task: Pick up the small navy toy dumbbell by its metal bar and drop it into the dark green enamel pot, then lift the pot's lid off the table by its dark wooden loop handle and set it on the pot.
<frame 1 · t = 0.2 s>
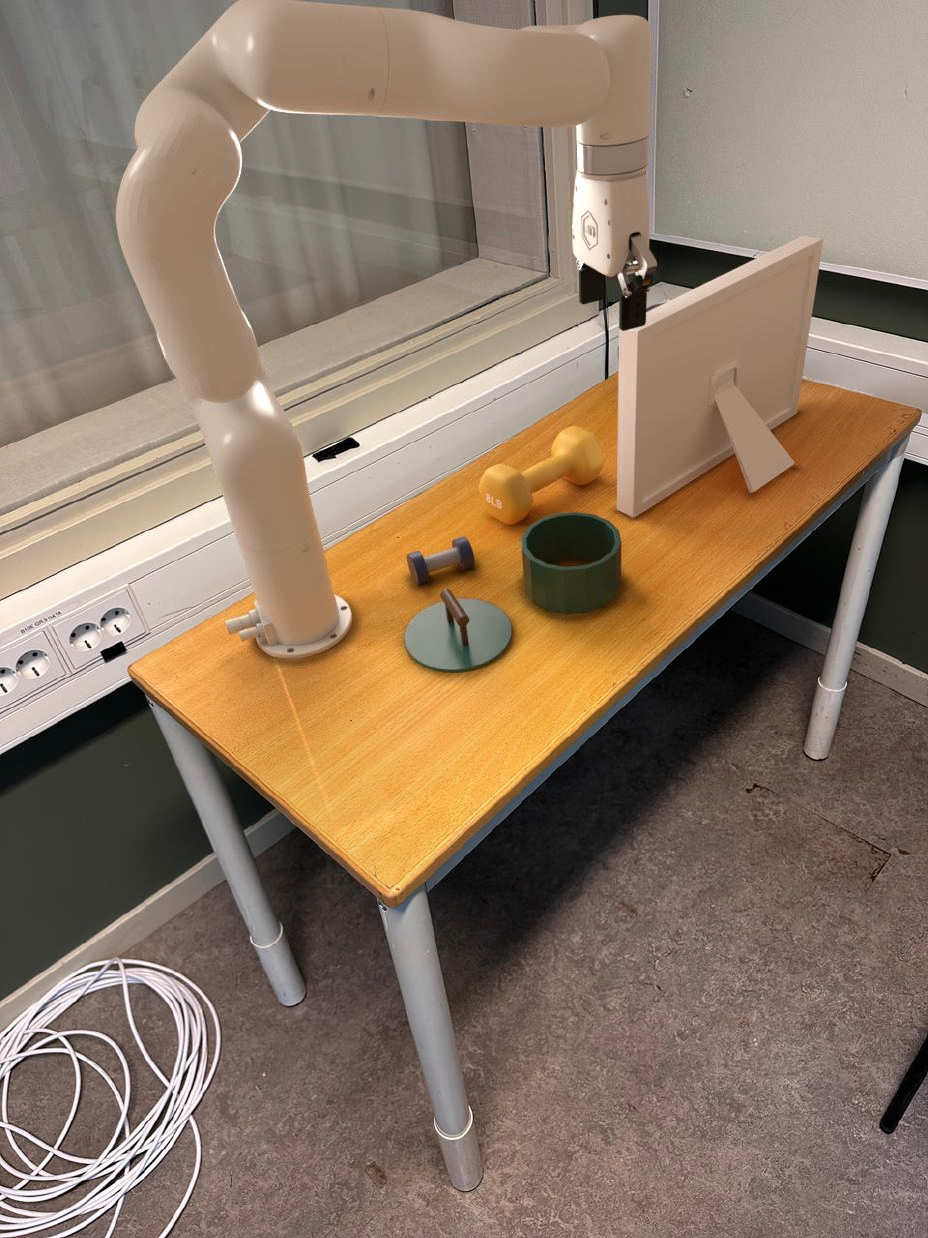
hand: (611, 313, 106), 31 cm above the table, tool pointing down, fingers open, 9 cm apart
dumbbell: (543, 499, 133), on the table
picture frame: (737, 470, 134), on the table
toy dumbbell: (442, 573, 121), on the table
lid: (458, 635, 110), point 1 cm above the table
pot: (571, 586, 116), on the table
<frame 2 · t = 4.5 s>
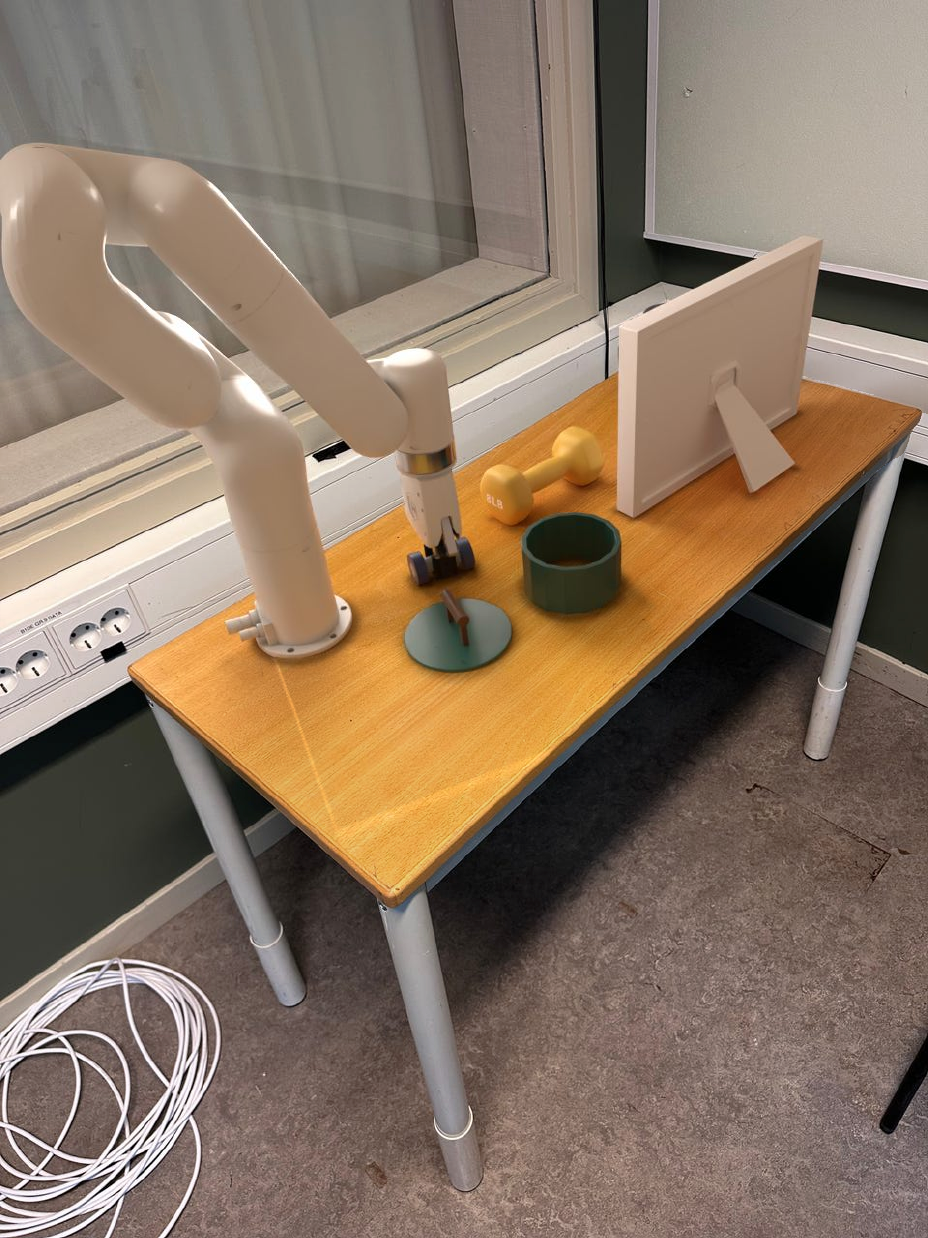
hand: (442, 570, 121), 1 cm above the table, tool pointing down, fingers closed on toy dumbbell, 2 cm apart
toy dumbbell: (442, 573, 121), on the table, touching gripper
everything else where it was.
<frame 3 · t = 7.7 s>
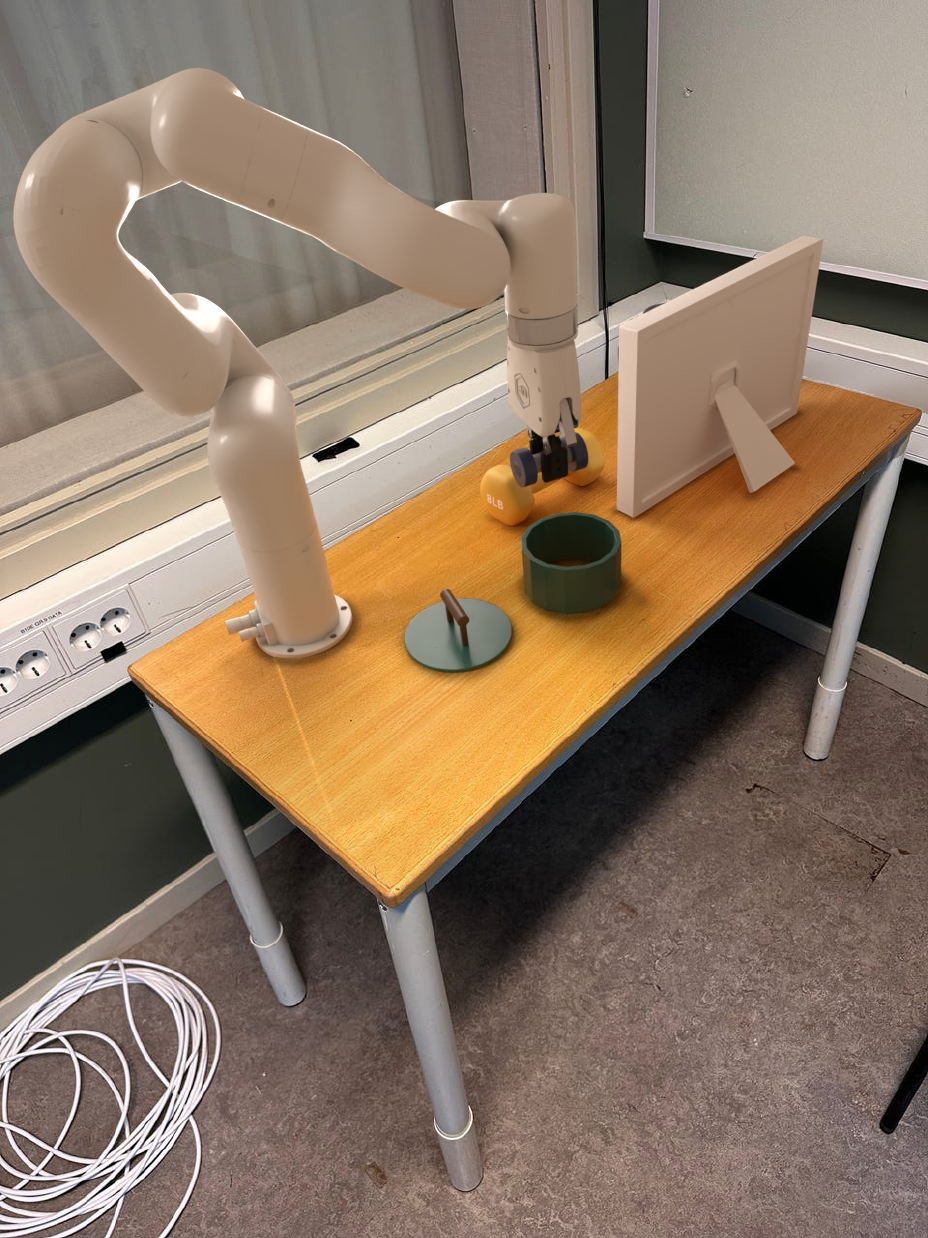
hand: (549, 471, 106), 17 cm above the table, tool pointing down, fingers closed on toy dumbbell
toy dumbbell: (549, 475, 106), point 17 cm above the table, touching gripper
everything else where it was.
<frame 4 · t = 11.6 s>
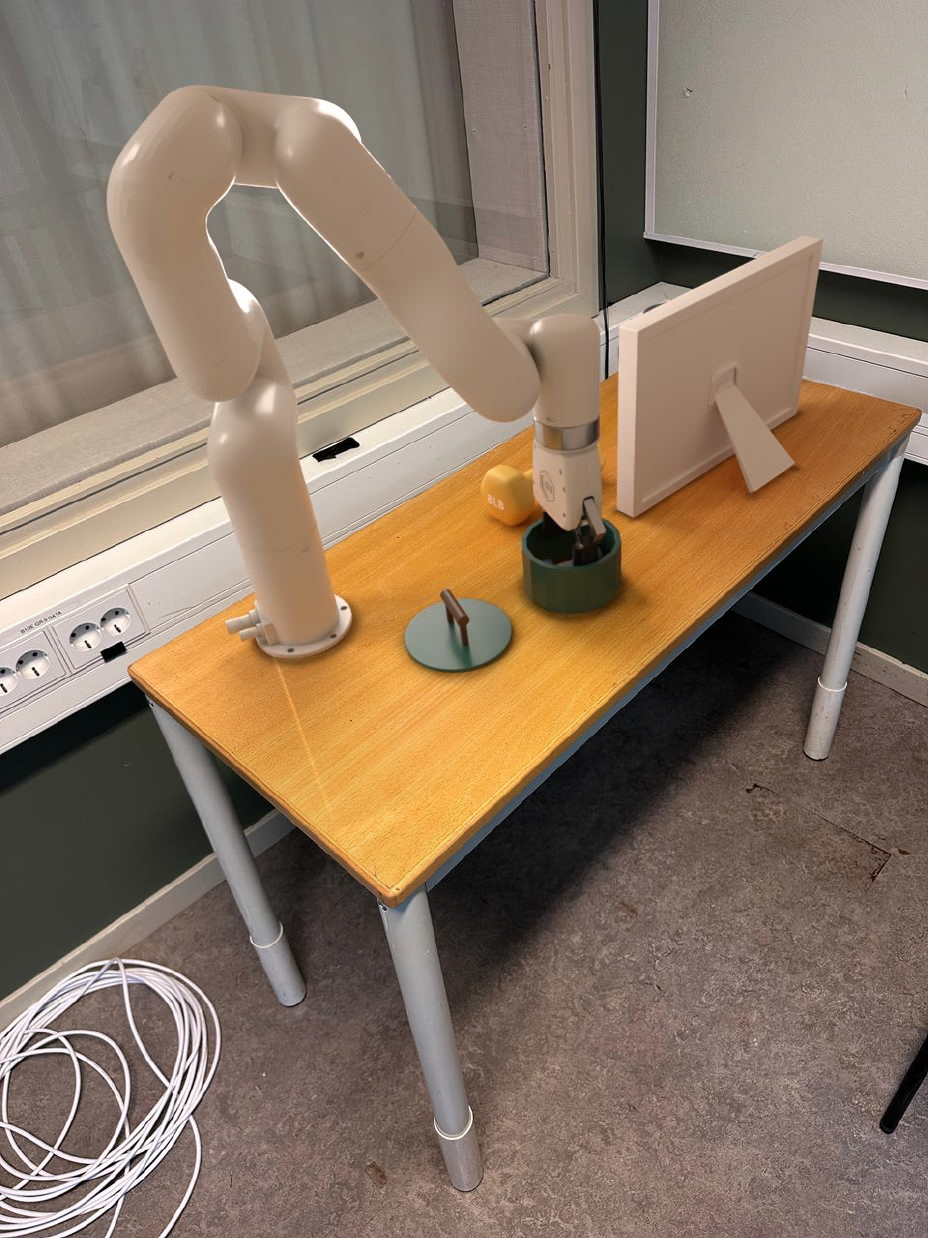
hand: (569, 551, 113), 6 cm above the table, tool pointing down, fingers closed on pot, 7 cm apart
toy dumbbell: (571, 583, 116), point 1 cm above the table, tilted 9°, touching pot
everything else where it was.
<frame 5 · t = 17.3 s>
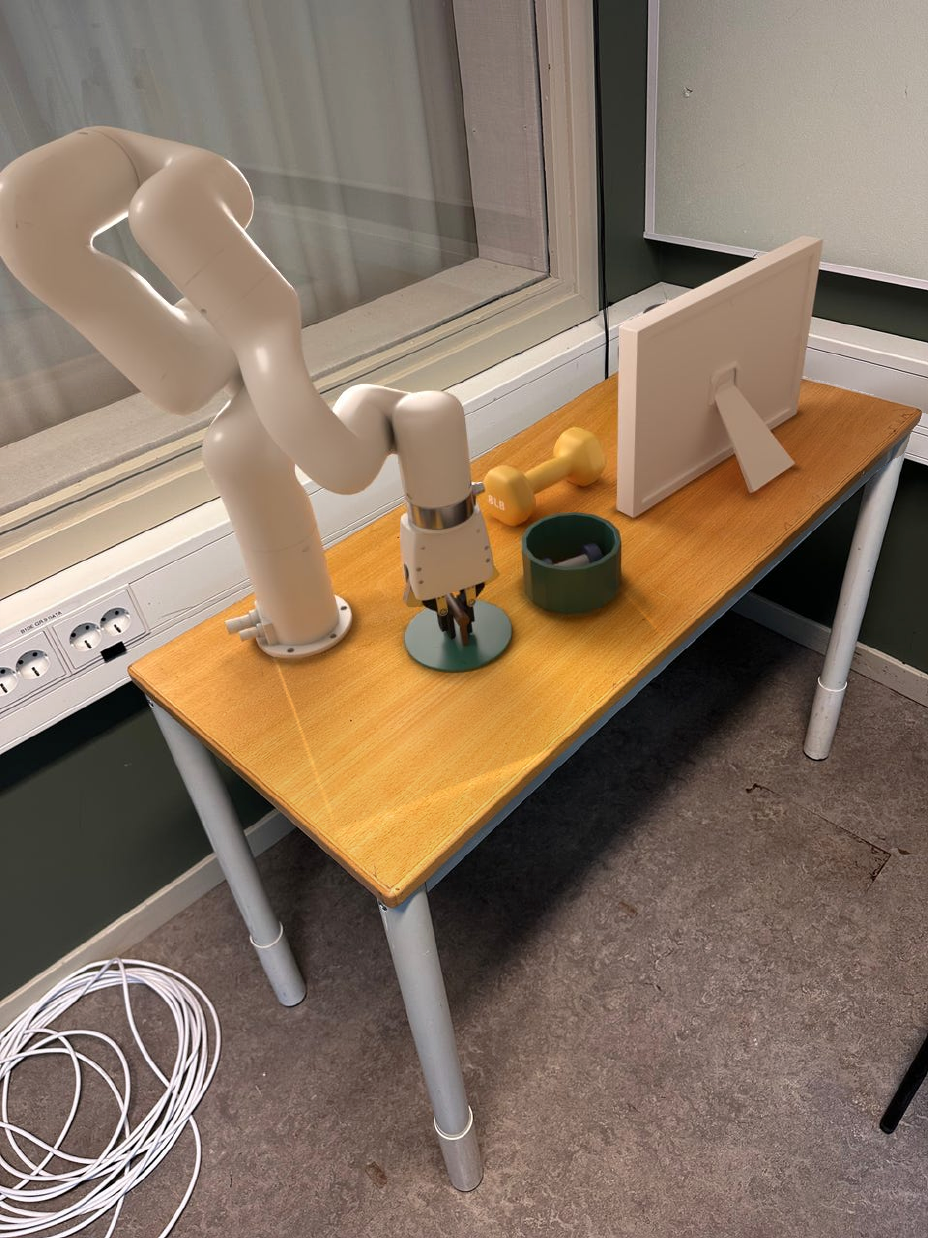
hand: (457, 629, 110), 2 cm above the table, tool pointing down, fingers closed on lid
lid: (458, 635, 110), point 1 cm above the table, touching gripper
everything else where it was.
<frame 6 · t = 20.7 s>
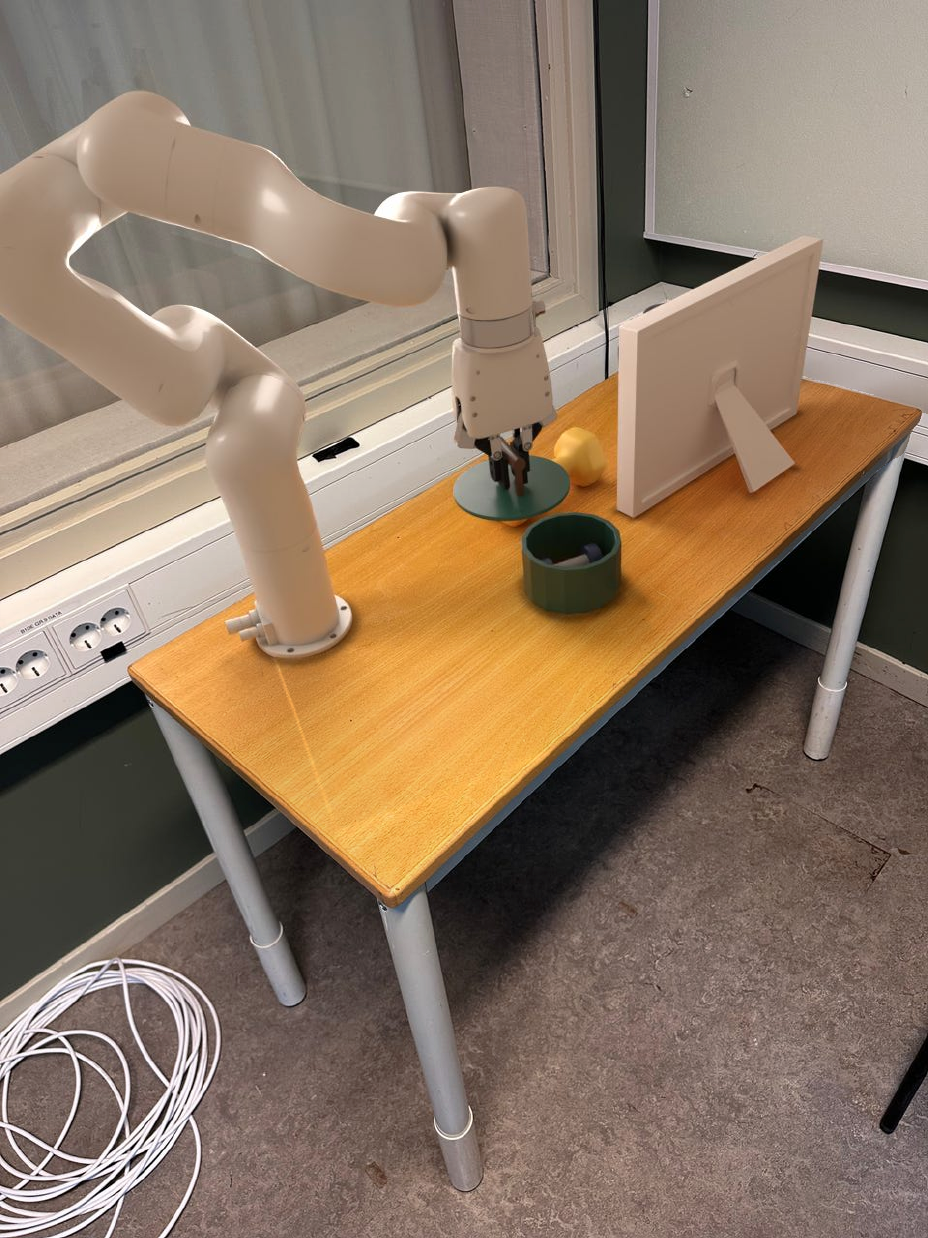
hand: (510, 480, 101), 19 cm above the table, tool pointing down, fingers closed on lid
lid: (511, 488, 102), point 18 cm above the table, touching gripper
everything else where it was.
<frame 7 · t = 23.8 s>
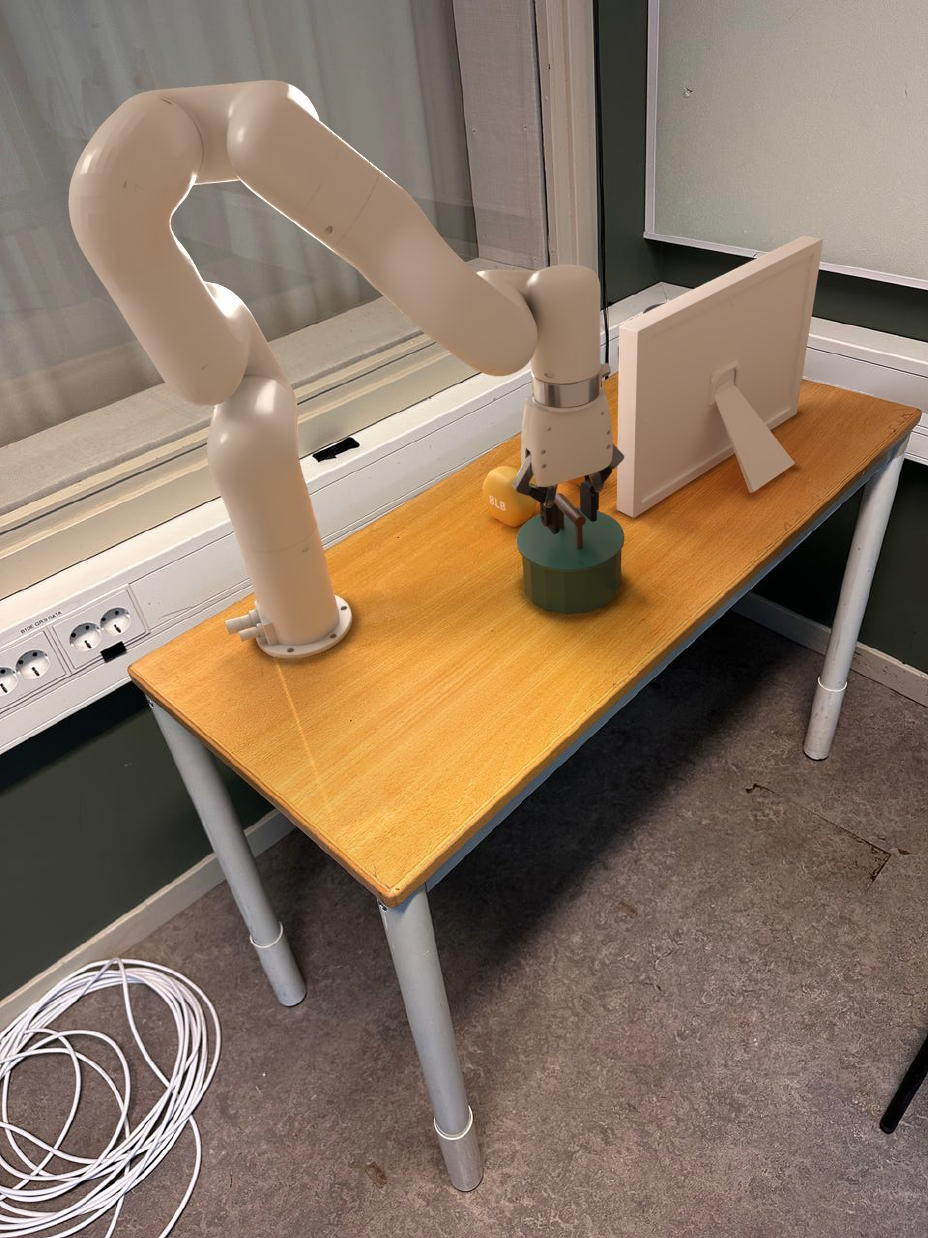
hand: (570, 520, 110), 10 cm above the table, tool pointing down, fingers open, 4 cm apart
lid: (570, 539, 112), point 7 cm above the table, touching pot
everything else where it was.
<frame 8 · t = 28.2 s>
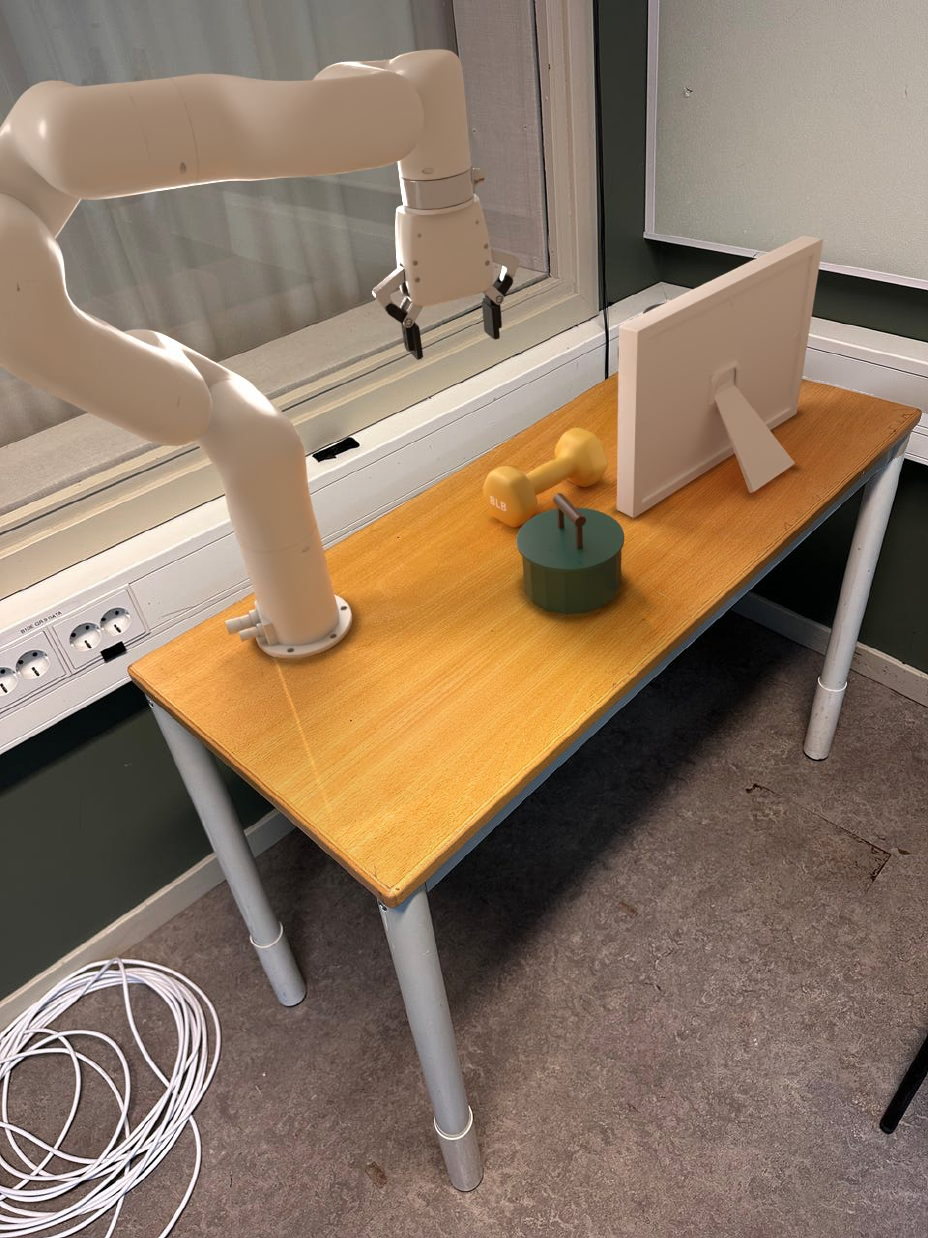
hand: (454, 345, 105), 30 cm above the table, tool pointing down, fingers open, 9 cm apart
nothing on the table moved.
at the end: toy dumbbell inside the target area in the pot (0.1 cm from its centre), point 0.6 cm above the pot's base; lid 0.1 cm off-centre on the pot, point 7.5 cm above the pot's base; lid tilted 0° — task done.
